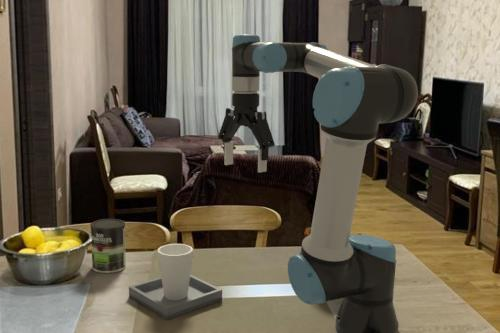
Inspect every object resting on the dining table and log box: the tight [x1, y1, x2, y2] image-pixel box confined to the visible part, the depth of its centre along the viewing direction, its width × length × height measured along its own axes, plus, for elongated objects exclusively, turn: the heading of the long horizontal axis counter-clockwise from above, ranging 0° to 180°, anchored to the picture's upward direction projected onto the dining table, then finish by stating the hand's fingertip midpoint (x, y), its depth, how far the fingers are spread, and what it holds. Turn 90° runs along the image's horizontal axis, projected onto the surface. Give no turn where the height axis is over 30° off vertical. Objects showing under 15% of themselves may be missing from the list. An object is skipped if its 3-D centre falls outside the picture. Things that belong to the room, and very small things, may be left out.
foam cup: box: [156, 243, 194, 300], centre depth 160 cm, size 10×9×13 cm
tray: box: [128, 273, 223, 320], centre depth 161 cm, size 18×18×3 cm
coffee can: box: [90, 218, 127, 274], centre depth 182 cm, size 10×10×14 cm
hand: (245, 168), depth 167 cm, fingers open, 13 cm apart
